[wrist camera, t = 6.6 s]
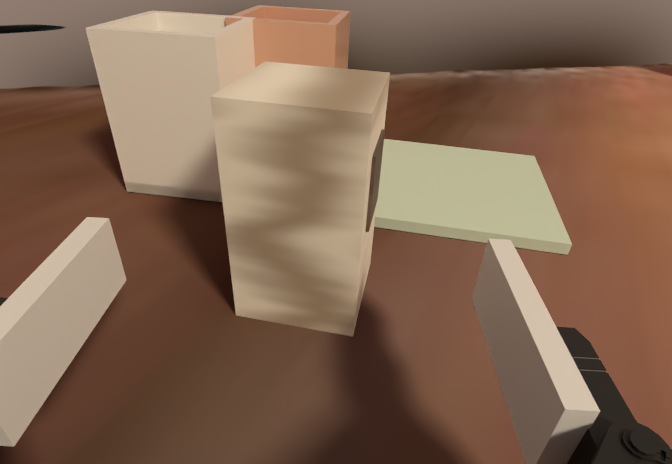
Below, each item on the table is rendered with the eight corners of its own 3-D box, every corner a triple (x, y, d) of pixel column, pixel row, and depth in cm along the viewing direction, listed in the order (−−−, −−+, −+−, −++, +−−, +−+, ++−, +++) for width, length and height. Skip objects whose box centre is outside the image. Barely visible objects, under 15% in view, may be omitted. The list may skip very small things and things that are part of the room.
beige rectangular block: (235, 315, 22) (210, 96, 16) (274, 246, 27) (266, 60, 21) (355, 337, 21) (376, 114, 15) (373, 262, 26) (393, 72, 20)
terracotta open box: (237, 160, 37) (225, 17, 31) (264, 128, 44) (258, 5, 38) (330, 169, 37) (336, 25, 31) (343, 135, 43) (350, 11, 37)
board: (349, 223, 30) (349, 213, 29) (375, 146, 41) (376, 138, 41) (567, 254, 28) (572, 244, 27) (531, 164, 39) (534, 156, 39)
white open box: (126, 191, 32) (85, 28, 26) (176, 149, 39) (151, 10, 33) (232, 203, 31) (214, 37, 25) (264, 157, 38) (256, 17, 32)
